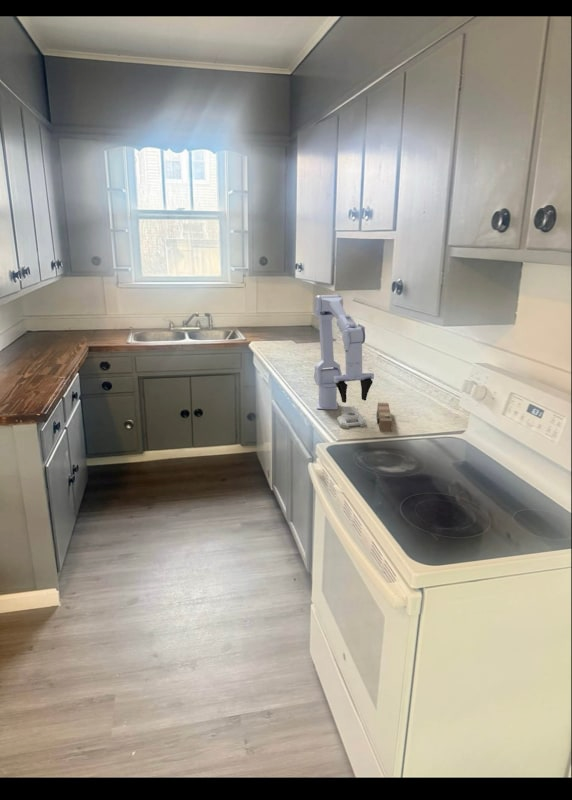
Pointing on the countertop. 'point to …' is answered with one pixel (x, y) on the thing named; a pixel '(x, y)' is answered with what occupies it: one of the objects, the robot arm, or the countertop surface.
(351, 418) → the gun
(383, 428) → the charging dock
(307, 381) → the countertop surface
